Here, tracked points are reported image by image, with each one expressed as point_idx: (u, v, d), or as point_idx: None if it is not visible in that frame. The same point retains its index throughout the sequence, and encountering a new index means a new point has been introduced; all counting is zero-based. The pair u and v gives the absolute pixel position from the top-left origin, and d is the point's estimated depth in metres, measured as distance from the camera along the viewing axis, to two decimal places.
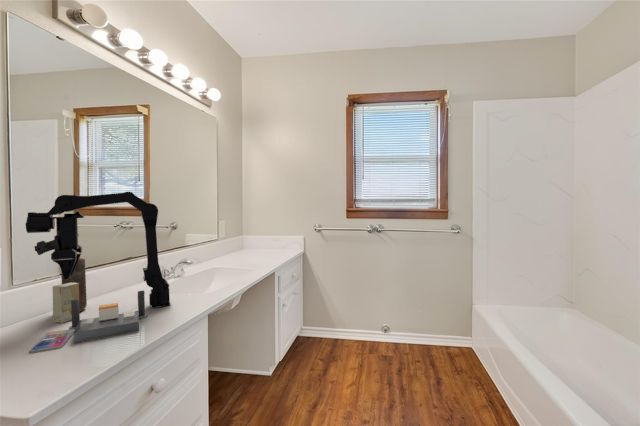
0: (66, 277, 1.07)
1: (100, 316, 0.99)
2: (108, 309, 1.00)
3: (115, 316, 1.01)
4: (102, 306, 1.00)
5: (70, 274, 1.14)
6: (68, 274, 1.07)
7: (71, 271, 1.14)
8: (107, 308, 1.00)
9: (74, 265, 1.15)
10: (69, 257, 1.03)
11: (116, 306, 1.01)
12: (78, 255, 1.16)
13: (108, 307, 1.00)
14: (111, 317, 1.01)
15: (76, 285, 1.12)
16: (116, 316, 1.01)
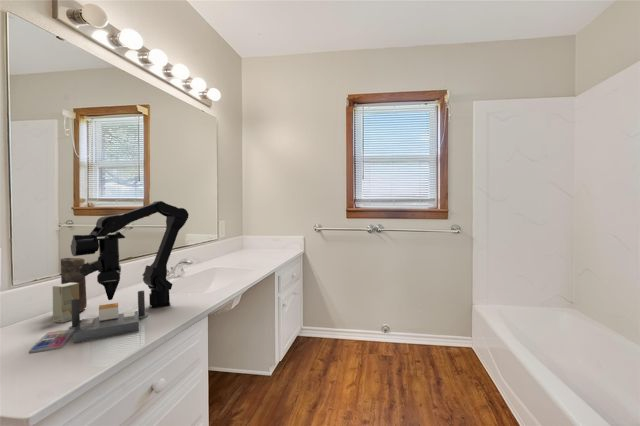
0: (110, 298, 1.08)
1: (100, 316, 0.99)
2: (108, 309, 1.00)
3: (115, 316, 1.01)
4: (102, 306, 1.00)
5: None
6: (112, 295, 1.08)
7: None
8: (107, 308, 1.00)
9: None
10: (114, 279, 1.05)
11: (116, 306, 1.01)
12: None
13: (108, 307, 1.00)
14: (111, 317, 1.01)
15: (76, 285, 1.12)
16: (116, 316, 1.01)
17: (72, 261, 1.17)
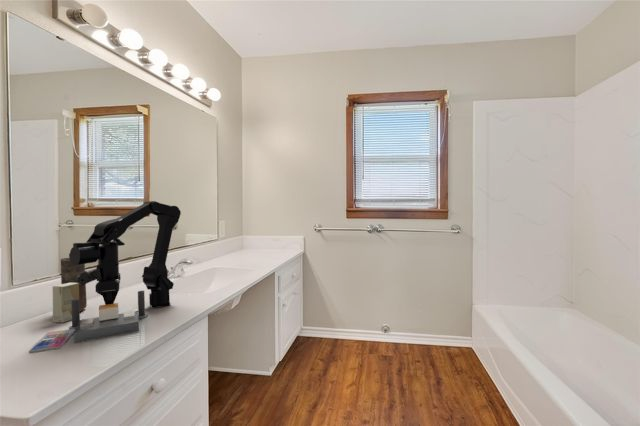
0: None
1: (100, 316, 0.99)
2: (108, 309, 1.00)
3: (115, 316, 1.01)
4: (102, 306, 1.00)
5: None
6: None
7: None
8: (107, 308, 1.00)
9: None
10: (113, 288, 1.00)
11: (116, 306, 1.01)
12: None
13: (108, 307, 1.00)
14: (111, 317, 1.01)
15: (76, 285, 1.12)
16: (116, 316, 1.01)
17: None
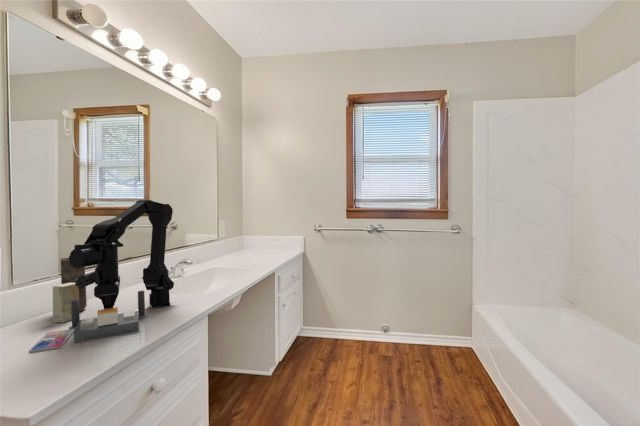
0: None
1: (99, 321, 0.94)
2: (107, 314, 0.96)
3: (114, 321, 0.97)
4: (101, 311, 0.96)
5: None
6: None
7: None
8: (106, 313, 0.95)
9: None
10: (112, 292, 0.96)
11: (115, 311, 0.97)
12: None
13: (107, 312, 0.96)
14: (110, 322, 0.96)
15: None
16: (115, 321, 0.97)
17: None
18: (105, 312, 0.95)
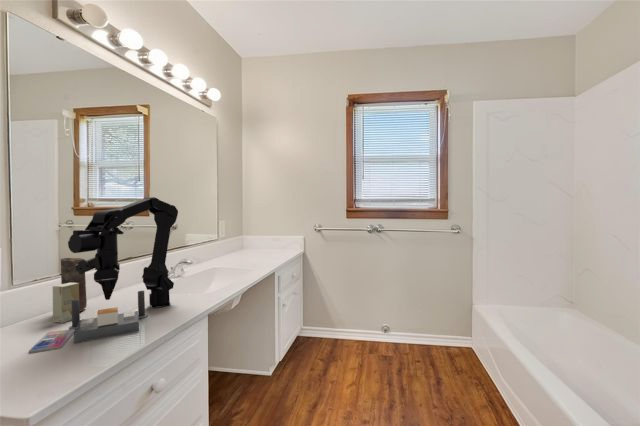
0: (107, 298, 1.01)
1: (99, 321, 0.94)
2: (107, 314, 0.96)
3: (114, 321, 0.97)
4: (101, 311, 0.96)
5: None
6: (109, 294, 1.01)
7: None
8: (106, 313, 0.95)
9: None
10: (112, 277, 0.98)
11: (115, 311, 0.97)
12: None
13: (107, 312, 0.96)
14: (110, 322, 0.96)
15: (76, 285, 1.12)
16: (115, 321, 0.97)
17: (72, 261, 1.17)
18: (105, 312, 0.95)
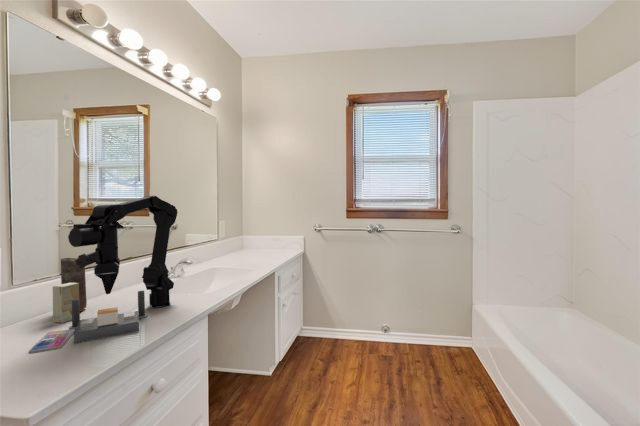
0: (108, 292, 1.01)
1: (99, 321, 0.94)
2: (107, 314, 0.96)
3: (114, 321, 0.97)
4: (101, 311, 0.96)
5: None
6: (110, 289, 1.01)
7: None
8: (106, 313, 0.95)
9: None
10: (112, 271, 0.98)
11: (115, 311, 0.97)
12: None
13: (107, 312, 0.96)
14: (110, 322, 0.96)
15: (76, 285, 1.12)
16: (115, 321, 0.97)
17: (72, 261, 1.17)
18: (105, 312, 0.95)
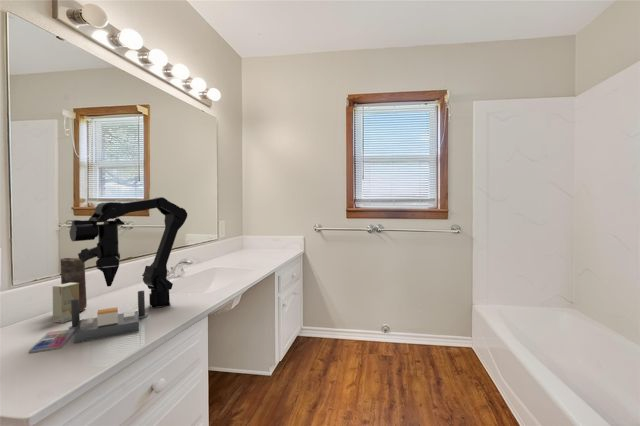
0: (109, 284, 1.07)
1: (99, 321, 0.94)
2: (107, 314, 0.96)
3: (114, 321, 0.97)
4: (101, 311, 0.96)
5: None
6: (111, 281, 1.07)
7: None
8: (106, 313, 0.95)
9: None
10: (113, 264, 1.04)
11: (115, 311, 0.97)
12: None
13: (107, 312, 0.96)
14: (110, 322, 0.96)
15: (76, 285, 1.12)
16: (115, 321, 0.97)
17: (72, 261, 1.17)
18: (105, 312, 0.95)
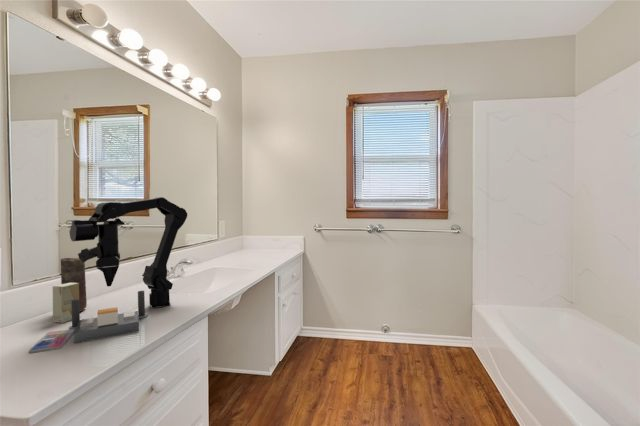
0: (109, 284, 1.07)
1: (99, 321, 0.94)
2: (107, 314, 0.96)
3: (114, 321, 0.97)
4: (101, 311, 0.96)
5: None
6: (111, 281, 1.07)
7: None
8: (106, 313, 0.95)
9: None
10: (113, 264, 1.04)
11: (115, 311, 0.97)
12: None
13: (107, 312, 0.96)
14: (110, 322, 0.96)
15: (76, 285, 1.12)
16: (115, 321, 0.97)
17: (72, 261, 1.17)
18: (105, 312, 0.95)
